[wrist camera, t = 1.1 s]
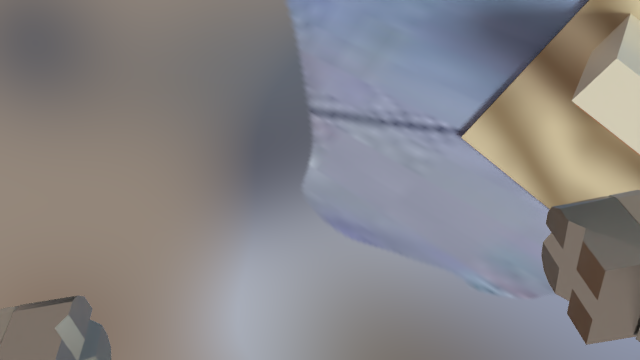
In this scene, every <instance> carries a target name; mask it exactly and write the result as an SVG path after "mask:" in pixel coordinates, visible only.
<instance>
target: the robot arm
mask: <svg viewBox="0 0 640 360" xmlns="http://www.w3.org/2000/svg"><path fill="white" fill-rule="evenodd" d="M546 225H547V226H548V228H549V229H550V231H551V232H552V233H551V234H550V235H549V236H548V237H547V238H546V240H545V241H544V242H543V247H542V262H543V268H544V272H545V274H546V277H547V280H548V282H549V284H550V286H551V287H552V289H553V291H554V292H555V294H557V295H559V296H561V297H563V298H564V299H566V300H568V301H569V306H568V311H567V314H568V316H569V317H570V319H571V320H572V322H573V324H574V325H575V327H576V329H577V330H578V332H579V334H580V335H581V337H582V338H583V340H584V341H585V343H586V345H587V344H593V343H599V342H605V341H612V340H618V339H624V338H630V337H636V336H637V337H636V340H638V341H639V342H640V190H634V191H628V192H623V193H618V194H613V195H609V196H603V197H598V198H593V199H588V200H583V201H578V202H573V203H568V204H563V205H558V206H553V207H551V209H550V210H549V212H548V215H547V220H546ZM91 312H92V308H91V306H90V305H89V303H88V302H87V300H86V299H85V297H83V296H72V297H66V298H60V299H54V300H48V301H42V302H35V303H29V304H23V305H20V306H15V307H8V308H3V309H0V360H111V346H110V343H109V339H108V336H107V334H106V332H105V330H104V328H103V326H102V325H100V324H98V323H96V322H94V321H92V320H90V316H91Z"/></svg>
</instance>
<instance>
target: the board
mask: <svg viewBox="0 0 640 360" xmlns="http://www.w3.org/2000/svg"><path fill="white" fill-rule="evenodd" d="M630 14H632V15H633V16H634V17H636V18H637V19H638V20H640V0H589V1H588V2H587V3H586V4H585V5H584V6H583V7H582V8H581V9H580V10H579V11H578V13H577V14H576V15H575V16H574V17H573V18H572V19H571V20H570V21H569V22H568V23H567V24H566V25H565V26H564V27H563V29H562V30H561V31H560V32H559V33H558V34H557V35H556V36H555V37H554V38H553V39H552V40H551V41H550V42H549V44H548V45H547V46H546V47H545V48H544V49H543V50H542V51H541V52H540V53H539V54H538V55H537V56H536V57H535V59H534V60H533V61H532V62H531V63H530V64H529V65H528V66H527V67H526V68H525V69H524V70H523V71H522V72H521V74H520V75H519V76H518V77H517V78H516V79H515V80H514V81H513V82H512V83H511V84H510V85H509V86H508V87H507V89H506V90H505V91H504V92H503V93H502V94H501V95H500V96H499V97H498V98H497V99H496V100H495V101H494V102H493V104H492V105H491V106H490V107H489V108H488V109H487V110H486V111H485V112H484V113H483V114H482V115H481V116H480V117H479V119H478V120H477V121H476V122H475V123H474V124H473V125H472V126H471V127H470V128H469V129H468V130H467V131H466V132H465V134H464V135H463V136H462V137H461V138H462V139H464V140H465V141H466V142H467V143H469V144H470V145H471V146H472V147H473V148H475V149H476V150H477V151H478V152H480V153H481V154H482V155H483V156H485V157H486V158H487V159H488V160H490V161H491V162H492V163H493V164H495V165H496V166H497V167H498V168H500V169H501V170H502V171H503V172H504V173H506V174H507V175H508V176H509V177H511V178H512V179H513V180H514V181H516V182H517V183H518V184H519V185H521V186H522V187H523V188H524V189H526V190H527V191H528V192H529V193H530V194H532V195H533V196H534V197H535V198H537V199H538V200H539V201H540V202H542V203H543V204H544V205H545V206H547V207H548V208H549V209H551V207H553V206H558V205H563V204H568V203H573V202H578V201H583V200H588V199H593V198H598V197H603V196H609V195H613V194H618V193H623V192H628V191H634V190H640V156H639V155H638V154H637V153H635V152H634V151H633V150H632V149H630V148H629V147H628V146H626V145H625V144H624V143H623V142H621V141H620V140H619V139H618V138H616V137H615V136H614V135H613V134H611V133H610V132H609V131H607V130H606V129H605V128H604V127H602V126H601V125H600V124H599V123H597V122H596V121H595V120H593V119H592V118H591V117H590V116H588V115H587V114H586V113H585V112H583V111H582V110H581V109H579V108H578V107H577V106H576V105H574V104H575V103H574V102H572V98H573V96H574V93H575V91H576V89H577V86H578V84H579V81H580V79H581V76H582V74H583V72H584V69H585V67H586V64H587V62H588V59H589V57H590V55H591V52H592V51H593V50H594V49H595V48H596V47H597V46H598V45H599V44H600V43H601V42H602V41H603V40H604V39H605V38H606V37H607V36H608V35H609V34H610V33H611V32H612V31H613V30H614V29H616V28H617V27H618V26H619V25H620V24H621V23H622V22H623V21H624V20H625V19H626V18H627V17H628V16H629V15H630Z"/></svg>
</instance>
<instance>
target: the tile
mask: <svg viewBox="0 0 640 360" xmlns="http://www.w3.org/2000/svg"><path fill="white" fill-rule="evenodd" d="M572 102H574V103H575V104H574V105H576V106H577V107H578V108H579V109H581V110H582V111H583V112H585V113H586V114H587V115H588V116H590V117H591V118H592V119H593V120H595V121H596V122H597V123H599V124H600V125H601V126H602V127H604V128H605V129H606V130H607V131H609V132H610V133H611V134H613V135H614V136H615V137H616V138H618V139H619V140H620V141H621V142H623V143H624V144H625V145H626V146H628V147H629V148H630V149H632V150H633V151H634V152H635V153H637V154H638V155H639V156H640V20H638V19H637V18H636V17H634V16H633V15H632V14H630V15H629V16H628V17H627V18H626V19H625V20H624V21H623V22H622V23H621V24H620V25H619V26H618V27H617V28H616V29H614V30H613V31H612V32H611V33H610V34H609V35H608V36H607V37H606V38H605V39H604V40H603V41H602V42H601V43H600V44H599V45H598V46H597V47H596V48H595V49H594V50H593V51H592V52H591V55H590V57H589V59H588V62H587V64H586V67H585V69H584V72H583V74H582V76H581V79H580V81H579V84H578V86H577V89H576V91H575V93H574V96H573V98H572Z"/></svg>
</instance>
